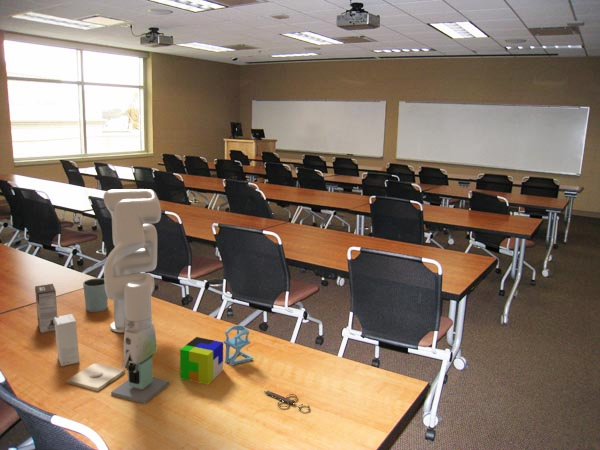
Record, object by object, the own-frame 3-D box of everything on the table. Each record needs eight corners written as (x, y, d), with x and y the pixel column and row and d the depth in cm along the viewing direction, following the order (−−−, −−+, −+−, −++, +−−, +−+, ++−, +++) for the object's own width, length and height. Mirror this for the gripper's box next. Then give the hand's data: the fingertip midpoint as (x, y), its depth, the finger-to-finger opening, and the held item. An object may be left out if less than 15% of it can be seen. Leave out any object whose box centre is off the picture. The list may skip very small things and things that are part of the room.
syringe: (267, 386, 153) (267, 381, 152) (315, 406, 143) (316, 401, 143) (251, 397, 146) (251, 392, 146) (301, 418, 137) (301, 413, 136)
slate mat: (137, 376, 155) (137, 372, 155) (169, 383, 151) (169, 380, 151) (111, 394, 144) (111, 391, 144) (144, 403, 140) (144, 400, 140)
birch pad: (95, 365, 161) (94, 362, 160) (124, 372, 157) (124, 369, 157) (66, 382, 150) (66, 379, 149) (97, 391, 146) (97, 387, 145)
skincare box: (79, 362, 162) (77, 321, 159) (60, 367, 159) (57, 324, 156) (75, 352, 169) (73, 312, 166) (56, 356, 166) (53, 316, 163)
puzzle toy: (223, 370, 161) (223, 342, 159) (207, 384, 152) (207, 355, 150) (196, 364, 164) (196, 336, 162) (180, 378, 155) (179, 349, 153)
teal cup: (92, 303, 214) (91, 277, 212) (114, 305, 213) (113, 279, 210) (79, 311, 204) (77, 284, 202) (102, 313, 203) (100, 286, 201)
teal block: (139, 377, 150) (138, 354, 149) (152, 381, 149) (152, 357, 147) (128, 385, 146) (127, 361, 144) (142, 389, 144) (141, 364, 143)
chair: (220, 360, 168) (220, 328, 165) (238, 352, 174) (239, 321, 171) (234, 368, 162) (234, 335, 160) (253, 359, 168) (253, 327, 166)
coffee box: (37, 324, 190) (34, 285, 187) (55, 321, 194) (52, 283, 191) (40, 333, 183) (37, 293, 180) (59, 329, 187) (56, 290, 183)
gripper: (129, 335, 134) (132, 395, 138) (166, 314, 150) (167, 368, 154) (108, 331, 137) (110, 389, 140) (146, 310, 152) (147, 363, 156)
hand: (140, 377), depth 147 cm, fingers closed on teal block, 5 cm apart
